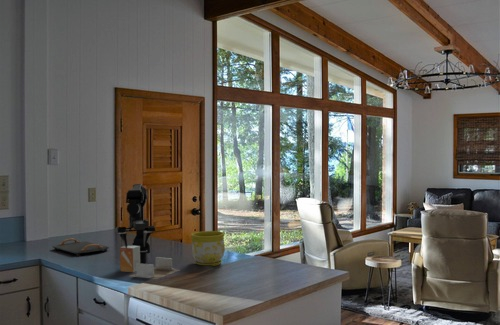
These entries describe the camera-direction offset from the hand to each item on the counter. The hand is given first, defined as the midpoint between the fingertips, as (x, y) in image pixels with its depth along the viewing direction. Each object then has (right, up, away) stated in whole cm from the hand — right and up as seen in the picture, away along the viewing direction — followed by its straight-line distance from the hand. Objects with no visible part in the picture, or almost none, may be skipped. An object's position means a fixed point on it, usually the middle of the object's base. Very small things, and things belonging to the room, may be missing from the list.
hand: (135, 247), depth 257 cm
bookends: (+9, -14, +5) cm, 17 cm away
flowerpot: (+34, -13, +26) cm, 44 cm away
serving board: (-51, -15, +74) cm, 91 cm away
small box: (-5, -15, +12) cm, 20 cm away
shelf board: (+9, -14, +5) cm, 17 cm away
